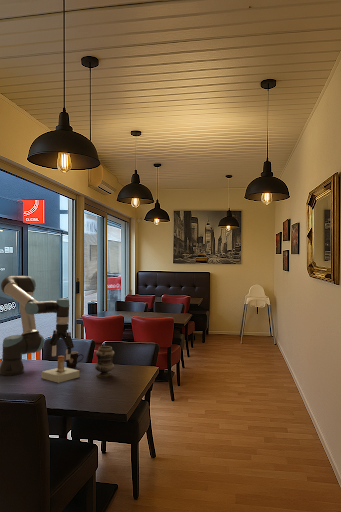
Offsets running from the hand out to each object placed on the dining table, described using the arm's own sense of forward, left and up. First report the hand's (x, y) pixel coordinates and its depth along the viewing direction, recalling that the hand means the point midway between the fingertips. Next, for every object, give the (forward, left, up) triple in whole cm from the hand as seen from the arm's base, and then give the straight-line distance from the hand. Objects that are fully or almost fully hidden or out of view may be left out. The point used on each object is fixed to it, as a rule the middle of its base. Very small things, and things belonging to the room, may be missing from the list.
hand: (60, 357), depth 232 cm
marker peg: (0, 0, -12) cm, 12 cm away
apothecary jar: (+18, +20, -12) cm, 30 cm away
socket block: (0, 0, -12) cm, 12 cm away
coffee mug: (-14, +22, -12) cm, 29 cm away
